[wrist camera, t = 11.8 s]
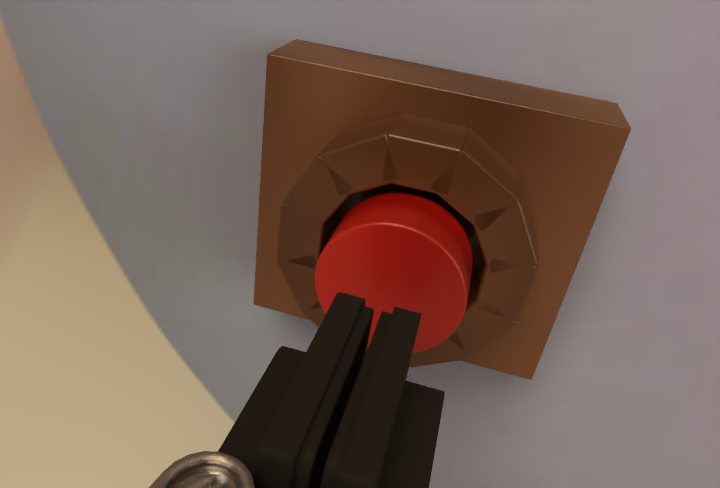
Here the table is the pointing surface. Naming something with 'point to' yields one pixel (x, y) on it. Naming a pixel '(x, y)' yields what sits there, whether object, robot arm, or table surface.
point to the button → (400, 263)
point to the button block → (434, 184)
